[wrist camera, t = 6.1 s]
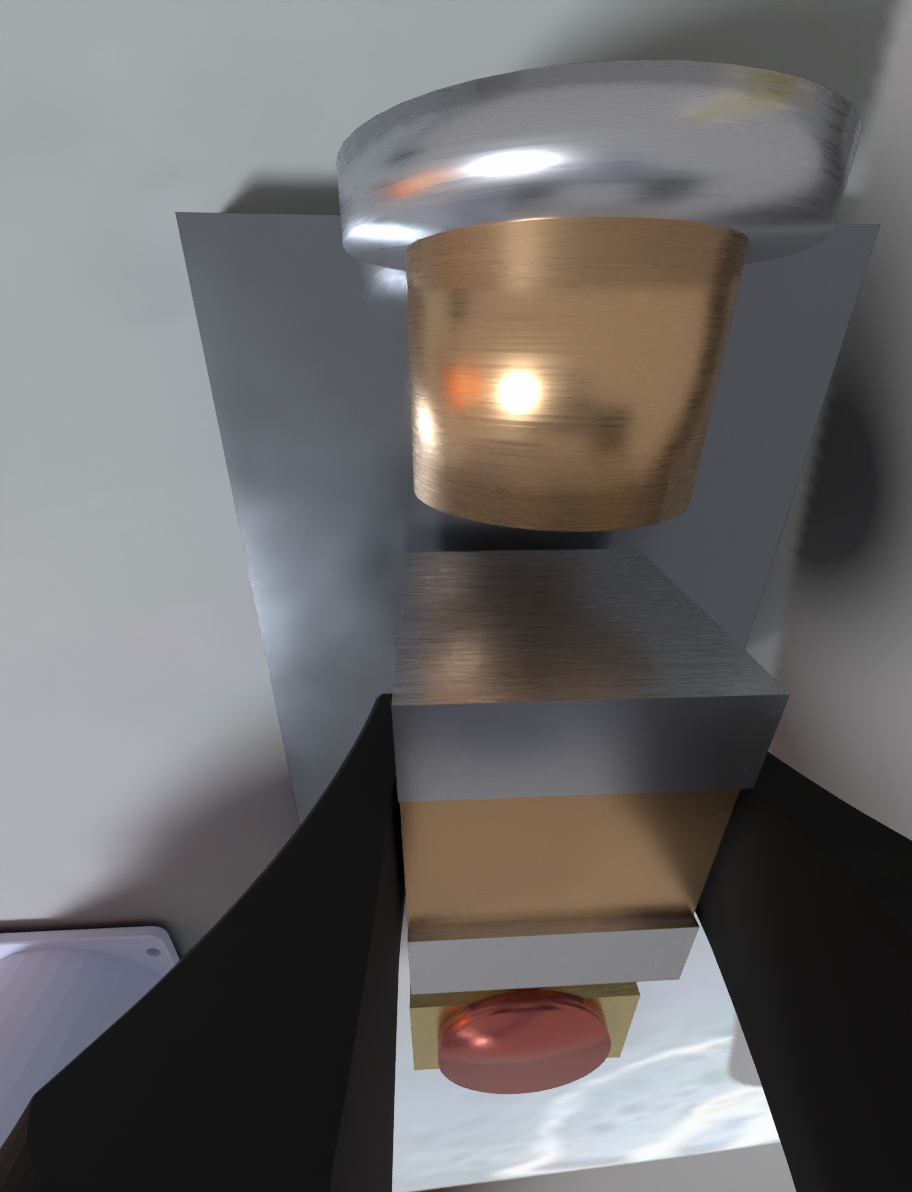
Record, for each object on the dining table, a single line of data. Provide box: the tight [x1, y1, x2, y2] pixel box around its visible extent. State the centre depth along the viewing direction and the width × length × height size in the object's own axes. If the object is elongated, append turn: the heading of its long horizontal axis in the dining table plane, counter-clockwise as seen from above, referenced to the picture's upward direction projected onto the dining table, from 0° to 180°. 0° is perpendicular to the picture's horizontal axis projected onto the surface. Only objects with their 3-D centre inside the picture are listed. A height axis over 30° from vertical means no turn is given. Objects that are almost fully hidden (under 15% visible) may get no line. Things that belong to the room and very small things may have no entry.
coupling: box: [391, 549, 790, 995], centre depth 9 cm, size 6×5×5 cm
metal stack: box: [175, 60, 880, 1094], centre depth 11 cm, size 18×12×6 cm, turn 0°
